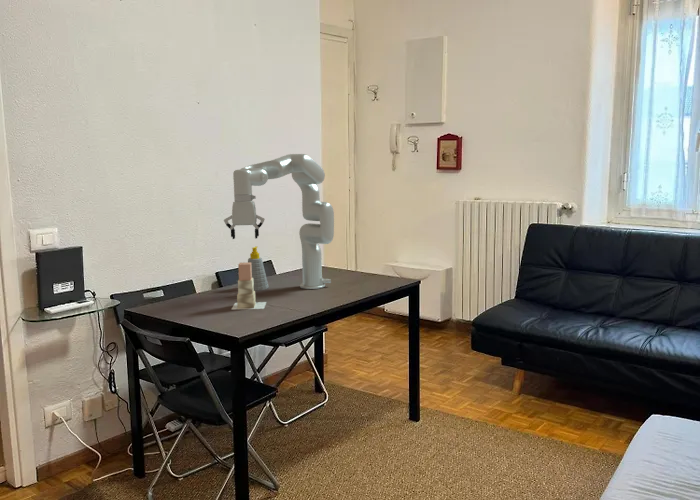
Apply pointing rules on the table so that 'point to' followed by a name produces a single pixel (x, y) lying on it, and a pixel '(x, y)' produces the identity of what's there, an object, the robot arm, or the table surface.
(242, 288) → the tower mid
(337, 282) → the table surface
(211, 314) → the table surface
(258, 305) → the mat
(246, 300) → the tower base
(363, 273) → the table surface
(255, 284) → the soap bottle
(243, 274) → the top block
